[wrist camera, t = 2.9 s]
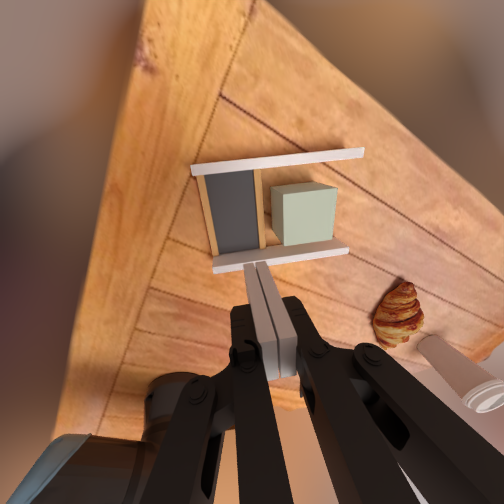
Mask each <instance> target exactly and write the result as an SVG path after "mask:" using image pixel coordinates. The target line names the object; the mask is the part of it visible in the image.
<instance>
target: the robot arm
mask: <svg viewBox="0 0 504 504" xmlns="http://www.w3.org/2000/svg"><path fill="white" fill-rule="evenodd" d="M255 266H256V269H255ZM255 266H254V263H247V264H243V268H244V275H245V283H246V291H247V297H248V303H249V304H246V305H240V306H234V307H233V309H232V311H231V313H230V319H231V337H232V346H231V347H230V350H229V357H230V363H229V364H228V366H227V367H226V368H225V369H224V370H223V371H221V372H220V373H218V374H216V375H214V376H212V377H211V378H210V377H209V376H205V375H200V376H198V375H196V374H191V373H172V374H168V375H164V376H162V377H159V378H158V379H156V380H154V381H153V382H152V383H151V384H150V385H149V387H148V389H147V392H146V396H145V399H144V430H143V435H142V438H141V441H135V440H127V439H119V438H110V437H102V436H94V435H92V434H91V433H89V434H87V435H85V434H64V435H61V436H60V437H58V438H56V439H55V440H54V441H53V442H52V443H50V445H49V446H48V447H47V448H46V450H45V451H44V452H43V453H42V455H41V456H40V457H39V459H38V460H37V461H36V462H35V464H34V465H33V467H32V468H31V469H30V471H29V472H28V473H27V475H26V476H25V477H24V479H23V480H22V482H21V483H20V484H19V486H18V487H17V488H16V490H15V491H14V493H13V494H12V496H11V497H10V498H9V500H8V501H7V502H6V504H213V502H214V496H215V490H216V484H217V478H218V472H219V466H220V460H221V454H222V448H223V442H224V435H225V430H227V429H228V428H229V427H231V426H232V425H234V424H235V433H236V448H237V467H238V485H239V501H240V504H294V502H293V498H292V493H291V489H290V484H289V479H288V474H287V470H286V466H285V461H284V456H283V451H282V446H281V442H280V437H279V432H278V428H277V423H276V419H275V414H274V409H273V404H272V400H271V395H270V390H269V386H268V381H270V380H275V379H279V376H278V368H279V372H280V376H281V378H285V377H290V376H295V375H296V372H298V374H299V377H300V398H301V397H304V400H305V403H306V406H307V408H308V412H309V415H310V418H311V421H312V424H313V427H314V430H315V433H316V436H317V439H318V442H319V445H320V448H321V451H322V454H323V457H324V460H325V463H326V466H327V469H328V472H329V475H330V478H331V481H332V484H333V487H334V490H335V493H336V496H337V499H338V502H339V504H420V502H419V500H418V499H417V497H416V495H415V493H414V492H413V490H412V488H411V486H410V484H409V482H408V481H407V479H406V477H405V475H404V474H403V472H402V470H401V468H402V469H403V470H404V472H405V473H406V474H407V476H408V477H409V478H410V480H411V481H412V482H413V484H414V485H415V486H416V487H417V489H418V490H419V491H420V493H421V494H422V496H423V497H424V498H425V499H426V501H427V502H428V503H429V504H504V455H502V454H501V453H500V452H499V451H498V450H497V449H496V448H494V447H493V446H492V445H491V444H490V443H489V442H487V441H486V440H485V439H484V438H483V437H482V436H481V435H479V434H478V433H477V432H476V431H475V430H474V429H473V428H472V427H470V426H469V425H468V424H467V423H466V422H465V421H464V420H463V419H461V418H460V417H459V416H458V415H457V414H456V413H455V412H453V411H452V410H451V409H450V408H449V407H448V406H447V405H445V404H444V403H443V402H442V401H441V400H440V399H439V398H438V397H436V396H435V395H434V394H433V393H432V392H430V390H428V389H427V388H426V387H425V386H424V385H423V384H421V383H420V382H419V381H418V380H417V379H416V378H415V377H414V376H412V375H411V374H410V373H409V372H408V371H407V370H406V369H404V368H403V367H402V366H401V365H400V364H399V363H398V362H397V361H395V360H394V359H393V358H392V357H391V356H390V355H389V354H387V353H386V352H385V351H384V350H383V349H381V348H380V347H378V346H376V345H374V344H371V343H360V344H358V345H357V346H355V349H354V350H352V349H343V348H337V347H334V346H331V345H329V343H328V342H326V341H325V340H323V339H322V338H321V337H320V335H319V333H318V331H317V330H316V328H315V326H314V324H313V322H312V320H311V319H310V317H309V315H308V313H307V311H306V310H305V308H304V306H303V304H302V302H301V301H300V300H299V299H298V298H296V297H295V296H290V297H284V298H281V296H280V294H279V291H278V289H277V287H276V284H275V282H274V280H273V277H272V275H271V272H270V270H269V268H268V265H267V263H266V261H260V262H255ZM398 464H399V465H400V467H401V468H400V467H399V465H398Z"/></svg>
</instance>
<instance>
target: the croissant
mask: <svg viewBox="0 0 504 504" xmlns="http://www.w3.org/2000/svg"><path fill="white" fill-rule="evenodd" d="M416 297H417V292H416V290H415V288H414V284H413V283H410V282H404V283H402V284H400V285H399V286H398V287H397V288H396V289H395V290H393V291H391V292H389V293H388V294H387V295H386V296H385V297H384V300H383V301H382V303H381V304H380V305H379V306H378V308H377V311H376V314H375V317H374V319H373V328H374V330H375V332H376V336H377V338H378V342H379V345H380V347H381V348H383V349H384V350H387V348H395V347H396V345H397V344H399V343H405V342H407V341H408V340H409V335H413V334H415V333H417V332H418V331H419V330H420V328H421V327H422V326H423V323H424V322H423V319H424V314H423V312H422V310H421V308H420V302H419V301H418V300H417V299H416Z"/></svg>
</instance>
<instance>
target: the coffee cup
mask: <svg viewBox="0 0 504 504" xmlns="http://www.w3.org/2000/svg"><path fill="white" fill-rule="evenodd" d="M417 349H418V350H419V352H420V353H421V354H422V355H423V356H424V357H425V358H426V359H427V361H428V362H429V363H430V364H431V365H432V366H433V367H434V368H435V370H436V371H437V372H438V373H439V374H440V375H441V376H442V377H443V379H444V380H445V381H446V382H447V383H448V384H449V385H450V386H451V388H452V389H453V390H454V391H455V392H456V393H457V394H458V396H459V397H460V398H461V399H462V403H463V404H464V405H466V406H467V407H469V408H471V409H473V410H475V411H476V412H477V413H484V412H488V411H491V410H494V409H496V408H498V407H500V406H502V405H503V404H504V381H503V380H500V379H497V378H495V377H494V376H493V375H491V374H490V373H488V372H487V371H486V370H484V369H483V368H481V367H480V366H478V365H477V364H476V363H474V362H473V361H472V360H470V359H469V358H468V357H466V356H465V355H463V354H462V353H461V352H459V351H458V350H456V349H455V348H454V347H452V346H451V345H450V344H448V343H447V342H445V341H444V340H443V339H441V338H440V337H438V336H437V335H431V336H428V337H426V338H424V339H422V340H421V341H420V342H419V343H418V345H417Z"/></svg>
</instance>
